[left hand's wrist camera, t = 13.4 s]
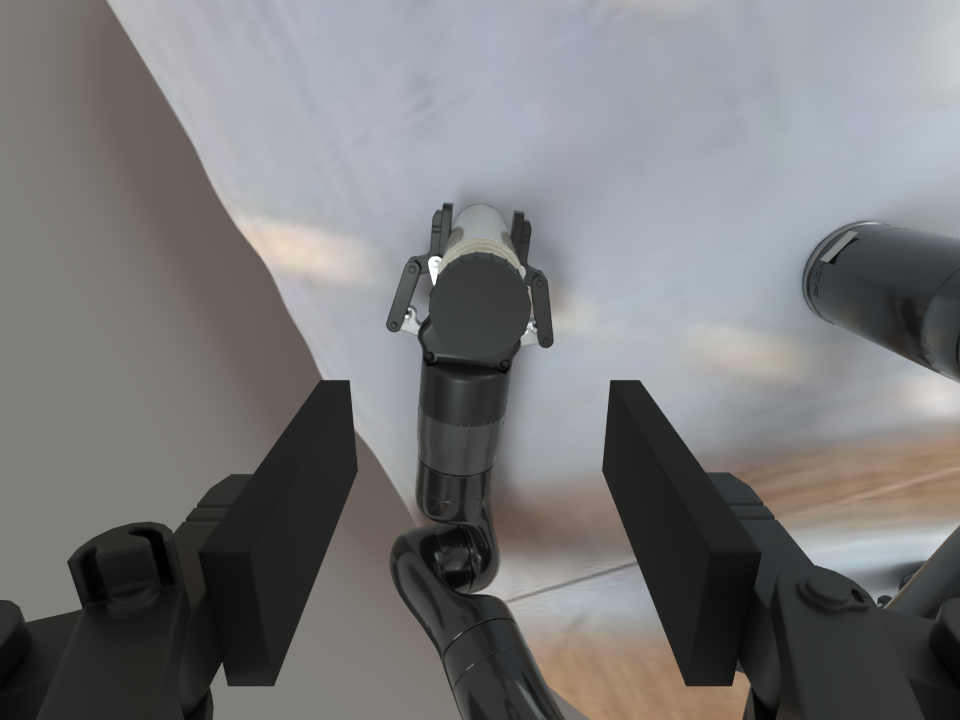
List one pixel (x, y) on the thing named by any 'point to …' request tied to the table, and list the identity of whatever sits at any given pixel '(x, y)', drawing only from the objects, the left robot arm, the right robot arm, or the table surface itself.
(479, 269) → the cap
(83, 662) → the left robot arm
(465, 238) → the bottle
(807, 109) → the table surface
